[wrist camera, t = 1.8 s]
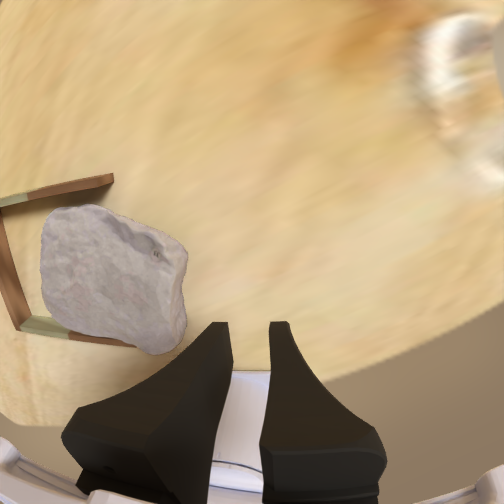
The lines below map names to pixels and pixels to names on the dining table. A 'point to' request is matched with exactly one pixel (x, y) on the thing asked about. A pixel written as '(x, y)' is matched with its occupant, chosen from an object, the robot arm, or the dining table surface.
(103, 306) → the stone block
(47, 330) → the guide slot
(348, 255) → the dining table surface
